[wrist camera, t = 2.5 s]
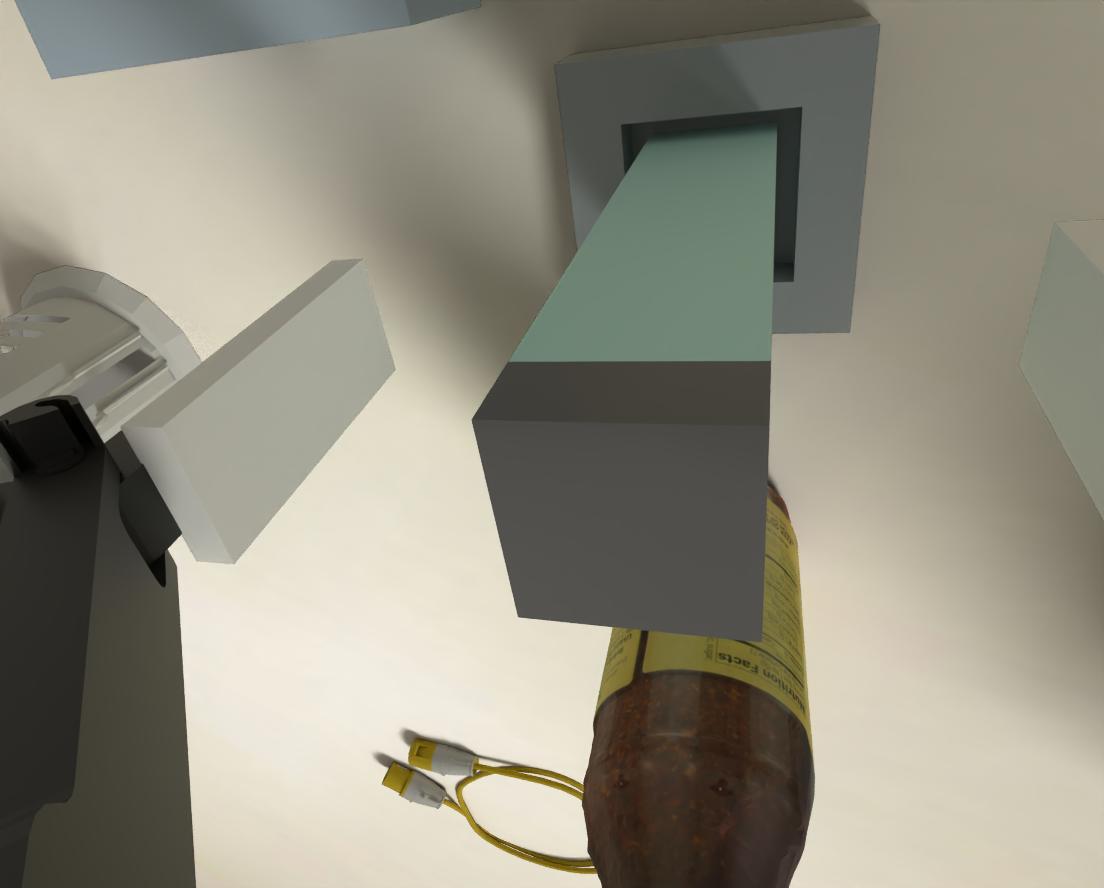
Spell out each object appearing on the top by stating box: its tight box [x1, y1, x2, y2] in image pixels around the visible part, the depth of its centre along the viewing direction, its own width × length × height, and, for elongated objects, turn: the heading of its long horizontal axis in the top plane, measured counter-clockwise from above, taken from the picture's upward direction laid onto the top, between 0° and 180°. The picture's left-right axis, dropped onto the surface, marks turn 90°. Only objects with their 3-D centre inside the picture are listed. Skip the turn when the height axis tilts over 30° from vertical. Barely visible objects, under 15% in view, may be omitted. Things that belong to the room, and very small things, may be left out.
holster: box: [555, 16, 880, 334], centre depth 21 cm, size 8×8×2 cm
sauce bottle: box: [582, 485, 815, 888], centre depth 21 cm, size 7×6×20 cm
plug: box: [472, 122, 777, 643], centre depth 15 cm, size 4×4×16 cm
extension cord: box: [382, 739, 597, 874], centre depth 46 cm, size 12×16×2 cm
